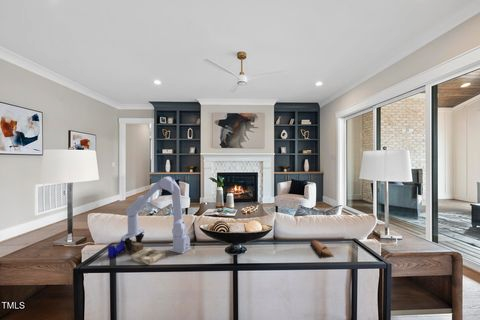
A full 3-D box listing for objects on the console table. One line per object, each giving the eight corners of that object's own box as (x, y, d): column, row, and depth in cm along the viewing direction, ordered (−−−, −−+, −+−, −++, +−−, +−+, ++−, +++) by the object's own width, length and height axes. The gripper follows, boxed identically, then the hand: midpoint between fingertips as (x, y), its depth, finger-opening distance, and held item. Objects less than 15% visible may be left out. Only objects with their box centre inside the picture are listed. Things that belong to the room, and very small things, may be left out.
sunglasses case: (335, 257, 133) (329, 246, 132) (324, 263, 133) (318, 253, 133) (323, 244, 151) (318, 235, 150) (313, 249, 151) (308, 241, 150)
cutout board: (165, 256, 134) (165, 252, 134) (150, 265, 125) (150, 260, 124) (147, 251, 141) (147, 247, 140) (131, 259, 131) (131, 255, 131)
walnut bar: (143, 252, 140) (143, 243, 140) (138, 254, 138) (138, 245, 138) (128, 248, 146) (128, 240, 146) (124, 250, 143) (124, 242, 143)
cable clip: (120, 248, 146) (120, 238, 146) (127, 248, 145) (126, 238, 145) (105, 257, 134) (105, 246, 134) (113, 257, 134) (112, 246, 133)
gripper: (138, 221, 149) (138, 243, 150) (117, 228, 136) (118, 252, 137) (146, 222, 146) (147, 245, 147) (126, 230, 133) (126, 254, 134)
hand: (133, 248), depth 142 cm, fingers open, 6 cm apart
